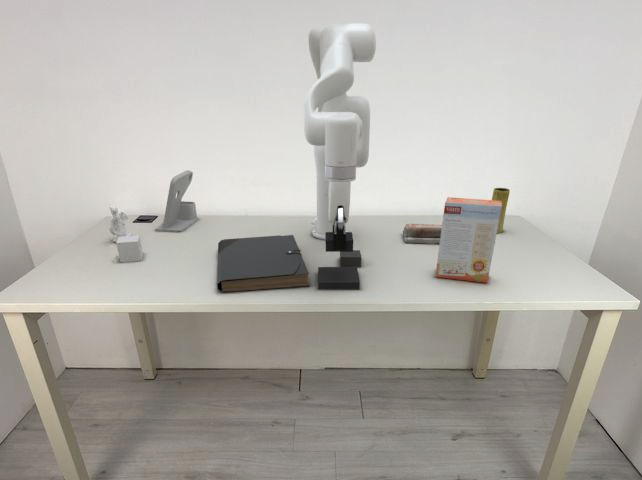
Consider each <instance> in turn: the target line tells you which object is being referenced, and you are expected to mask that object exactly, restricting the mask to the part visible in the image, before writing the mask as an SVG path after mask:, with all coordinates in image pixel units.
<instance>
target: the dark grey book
mask: <svg viewBox="0 0 642 480" xmlns="http://www.w3.org/2000/svg"><path fill="white" fill-rule="evenodd" d="M309 274H310V272H309V270H308V267H307V265H306V262H305V260H304V258H303V254H302V253H301V249H300V248H299V246H298V243H297V241H296V238H295V236H294V234H287V235H286V234H285V235H281V234H280V235H266V236H265V235H264V236H252V237H240V238H239V237H237V238H225V239H221V240H219V242H218V243H217V274H216V275H217V277H216V288H217V290H218V291H219V292H221V293H225V294H227V293H237V292H251V291H263V290H275V289H276V290H277V289H289V288H290V289H291V288H302V287H310V284H309Z"/></svg>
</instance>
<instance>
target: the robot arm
mask: <svg viewBox="0 0 642 480" xmlns="http://www.w3.org/2000/svg"><path fill="white" fill-rule="evenodd" d="M376 49H377V38H376V33H375V30H374V27H373V26H372V25H371V24H370V23H369V24H368V23H351V22H350V23H349V22H348V23H347V22H346V23H343V22H341V23H339V22H338V23H331V24H322V25H317V26H314V27H312V28H311V29H310V31H309V32H308V50H309V53H310V58H311V62H312V64H313V68H314V70H315V74H316V79H317V80H316V81H315V82H314V83H313V84H312V86H311V87H310V89H309V90H308V92H307V94H306V96H305V99H304V104H303V131H304V138H305V140H306V141H307V143H308V144H309V145H311V146H313V158H314V163H315V175H316V176H315V177H316V217H314V218H313V220H311V221H310V224H311V225H314V229H313V230H312V232H311V234H312V236H313V237H314V238H317V239H319V240H324V241H326V232H334V233H333V249H346V232H350V231H349V230H348V228H346V225H347V223H348V222H349V217H350V208H351V207H350V206H351V187H352V186H351V185H352V182H353V181H356V180H357V168H363V167H365V166H366V165H367V164H368V161H369V155H370V135H371V134H370V133H371V132H370V130H371V129H370V128H371V108H370V106H371V105H370V103H369V101H368V99H367V98H366V97H365V96H361V95H347V92H348V91H350V90H351V88H352V87H353V85H354V82H355V72H354V63H371V62H372V61H373V59H374V57H375V54H376ZM316 110H317V111H316Z"/></svg>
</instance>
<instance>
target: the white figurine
mask: <svg viewBox="0 0 642 480" xmlns="http://www.w3.org/2000/svg"><path fill="white" fill-rule="evenodd" d="M109 210H110V214H111V217H110V219H109V224H108V231H109V232H110V234H112V235H113V236H116V238H114V239H112V242H114V243H116V242H117V240H118V237H122V236H133V235H132V234H131V233H128V234H127V228H126V227H125V225H126V222H125V221H126V220H129V217H130V216H129V215H128V214H127V213H126V212H125V211H124V210H122V209H120V208H119V207H117V206H116V205H110V206H109Z"/></svg>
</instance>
